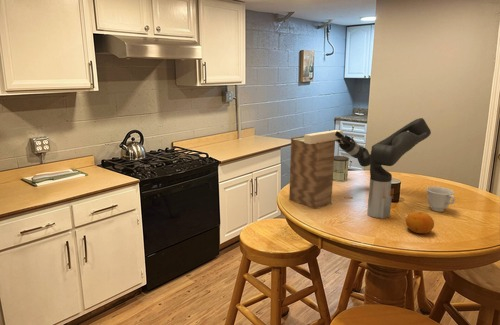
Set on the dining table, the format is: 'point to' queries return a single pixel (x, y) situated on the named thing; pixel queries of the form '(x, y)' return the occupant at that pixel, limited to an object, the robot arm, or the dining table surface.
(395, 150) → the robot arm
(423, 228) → the fruit
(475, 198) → the dining table surface
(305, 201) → the brown patterned box
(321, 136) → the block
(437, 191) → the teacup
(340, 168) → the coffee can
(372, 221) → the dining table surface
